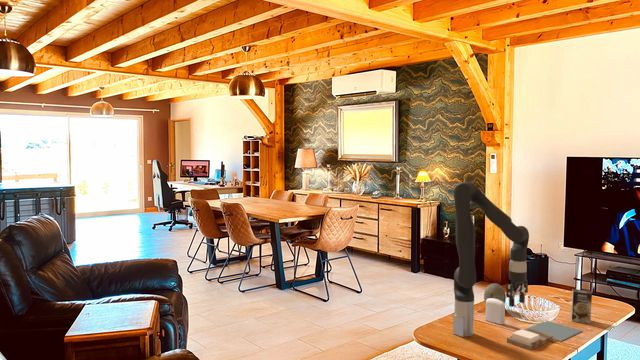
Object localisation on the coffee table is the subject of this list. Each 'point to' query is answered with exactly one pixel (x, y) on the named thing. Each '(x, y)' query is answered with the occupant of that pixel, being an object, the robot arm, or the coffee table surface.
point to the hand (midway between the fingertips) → (516, 304)
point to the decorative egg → (494, 292)
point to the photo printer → (495, 311)
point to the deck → (542, 340)
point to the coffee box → (581, 306)
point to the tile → (525, 336)
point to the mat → (555, 330)
